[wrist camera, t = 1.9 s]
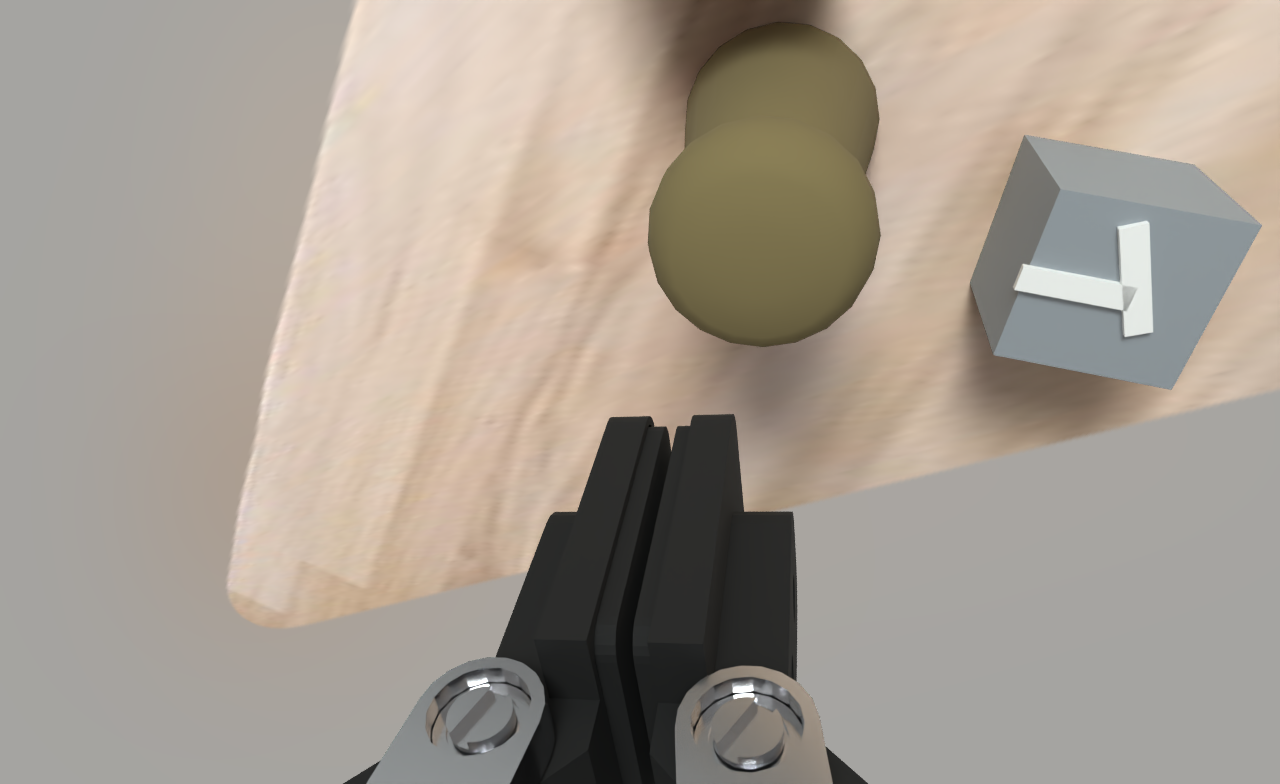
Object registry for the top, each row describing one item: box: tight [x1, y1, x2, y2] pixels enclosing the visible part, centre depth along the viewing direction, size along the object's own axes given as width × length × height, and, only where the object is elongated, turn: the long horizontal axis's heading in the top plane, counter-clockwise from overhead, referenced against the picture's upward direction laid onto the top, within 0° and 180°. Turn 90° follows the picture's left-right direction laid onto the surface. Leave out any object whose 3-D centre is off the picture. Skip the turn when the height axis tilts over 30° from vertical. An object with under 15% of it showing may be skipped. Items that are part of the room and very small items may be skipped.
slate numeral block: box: [970, 135, 1262, 390], centre depth 26 cm, size 5×5×5 cm
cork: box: [648, 22, 881, 347], centre depth 23 cm, size 6×6×11 cm
